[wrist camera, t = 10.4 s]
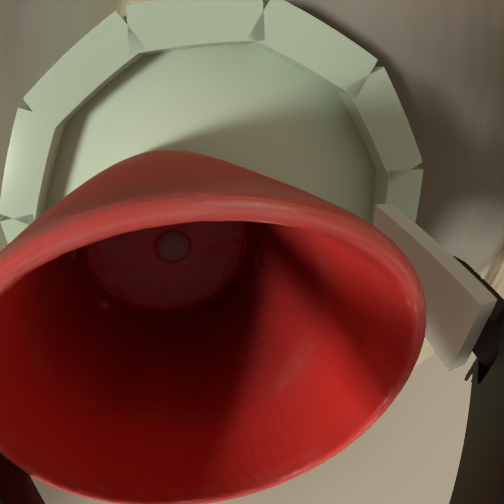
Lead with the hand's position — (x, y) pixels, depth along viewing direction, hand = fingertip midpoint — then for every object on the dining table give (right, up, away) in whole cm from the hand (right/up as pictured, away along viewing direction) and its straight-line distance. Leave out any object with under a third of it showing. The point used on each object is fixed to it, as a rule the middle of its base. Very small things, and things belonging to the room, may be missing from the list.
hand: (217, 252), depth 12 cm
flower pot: (-2, +1, +2) cm, 3 cm away
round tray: (-1, +2, +3) cm, 3 cm away
